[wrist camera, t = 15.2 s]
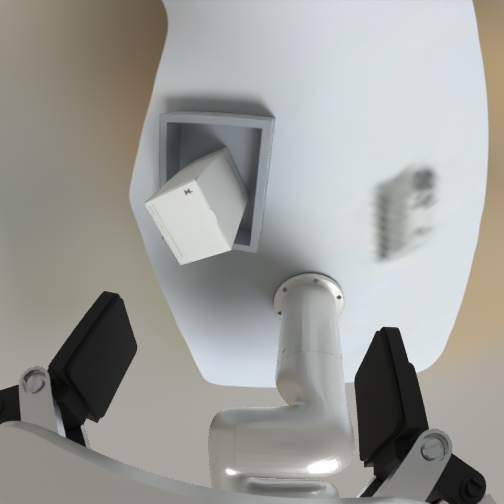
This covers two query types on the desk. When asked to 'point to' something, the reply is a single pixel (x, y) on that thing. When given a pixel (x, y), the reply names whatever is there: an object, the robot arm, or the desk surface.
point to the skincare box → (200, 207)
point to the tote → (240, 147)
